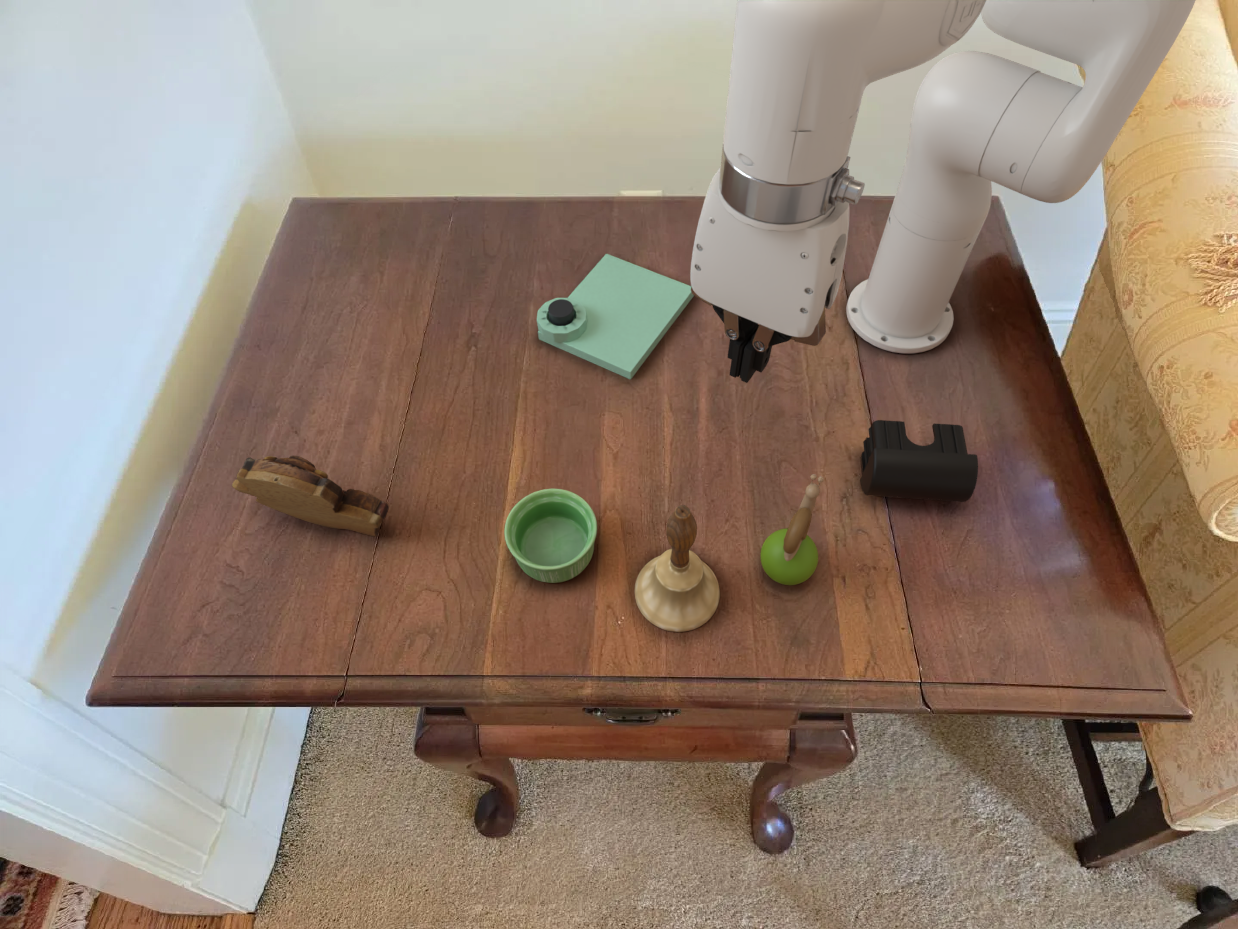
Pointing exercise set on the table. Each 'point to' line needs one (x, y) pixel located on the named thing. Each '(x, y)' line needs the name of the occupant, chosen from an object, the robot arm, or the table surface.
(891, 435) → the end cap
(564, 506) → the ramekin
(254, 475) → the wooden carving
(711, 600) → the hand bell
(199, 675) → the table surface
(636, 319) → the scale
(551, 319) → the button
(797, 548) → the snail figurine
